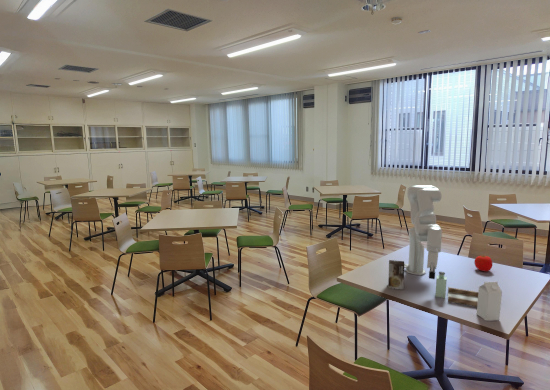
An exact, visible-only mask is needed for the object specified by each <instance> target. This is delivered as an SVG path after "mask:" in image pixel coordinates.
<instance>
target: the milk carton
mask: <svg viewBox="0 0 550 390" xmlns="http://www.w3.org/2000/svg"><path fill="white" fill-rule="evenodd" d="M477 292H478V303H477V307H476V315H478V316H479V317H480V318H482V319H483V320H484V321H487V322H489V321H490V322H491V321H493V322H494V321H500V317H501V316H500V315H501V308H502V307H501V305H502V297H503V296H502V295H503V292H502V289H501V288H500V286H499V283H498V281H485V282H483V284H482V285H480V286H478V291H477Z"/></svg>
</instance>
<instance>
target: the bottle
mask: <svg viewBox="0 0 550 390" xmlns="http://www.w3.org/2000/svg"><path fill="white" fill-rule="evenodd" d="M445 275H446V272H444V271H439V272H438V275H436V278H435V279H436V280H435V281H436V283H435V284H436V285H435V296H434V297H436V298H442V299H445V298H446V291H447V279H448V278H447V276H445Z"/></svg>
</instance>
